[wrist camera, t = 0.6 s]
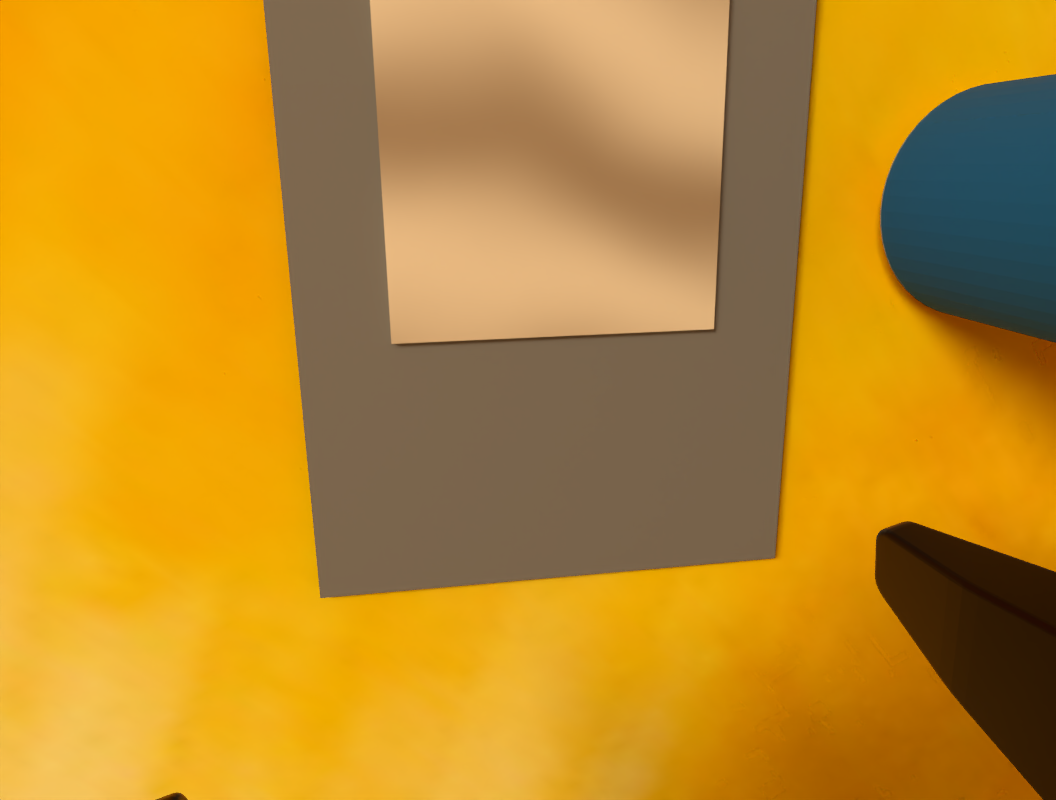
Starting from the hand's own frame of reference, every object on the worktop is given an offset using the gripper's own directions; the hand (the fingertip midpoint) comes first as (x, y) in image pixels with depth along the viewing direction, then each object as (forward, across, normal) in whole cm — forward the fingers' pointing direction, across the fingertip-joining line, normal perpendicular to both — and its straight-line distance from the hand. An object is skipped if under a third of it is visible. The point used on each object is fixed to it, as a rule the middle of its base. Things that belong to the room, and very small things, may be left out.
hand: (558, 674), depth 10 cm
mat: (+14, -5, -2) cm, 15 cm away
